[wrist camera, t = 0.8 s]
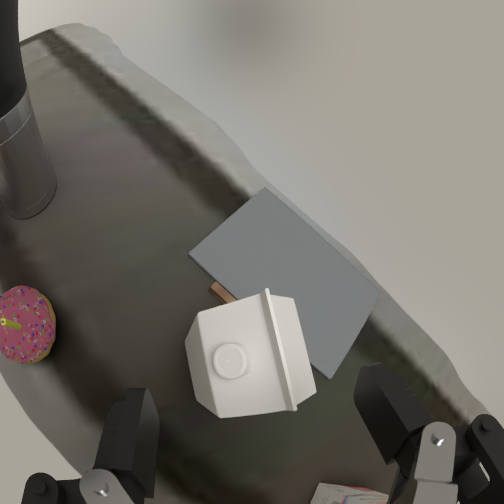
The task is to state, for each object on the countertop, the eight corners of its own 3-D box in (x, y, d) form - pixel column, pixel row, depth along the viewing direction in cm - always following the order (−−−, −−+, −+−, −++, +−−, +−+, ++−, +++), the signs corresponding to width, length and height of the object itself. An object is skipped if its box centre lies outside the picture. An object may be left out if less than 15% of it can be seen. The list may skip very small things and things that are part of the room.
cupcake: (80, 324, 29) (41, 294, 18) (48, 381, 24) (-4, 378, 14) (32, 285, 28) (-13, 242, 18) (1, 338, 24) (-54, 315, 14)
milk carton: (243, 332, 34) (320, 280, 18) (255, 389, 31) (349, 391, 15) (184, 341, 32) (203, 296, 15) (196, 400, 29) (231, 428, 13)
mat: (187, 255, 36) (188, 253, 36) (263, 189, 44) (265, 186, 43) (328, 379, 34) (330, 379, 34) (378, 293, 42) (380, 292, 41)
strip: (208, 290, 35) (210, 287, 34) (214, 285, 35) (216, 281, 34) (293, 365, 34) (299, 365, 33) (298, 359, 34) (303, 358, 33)
